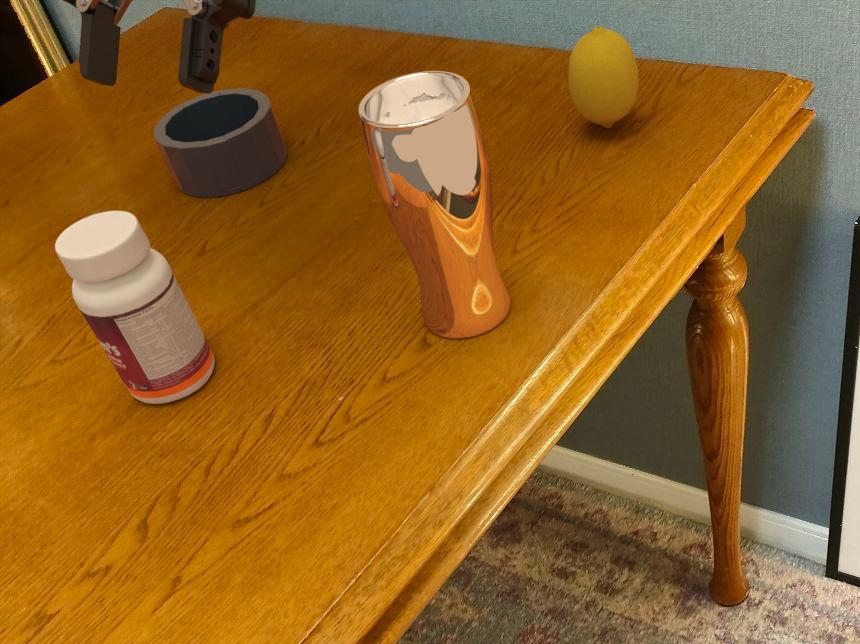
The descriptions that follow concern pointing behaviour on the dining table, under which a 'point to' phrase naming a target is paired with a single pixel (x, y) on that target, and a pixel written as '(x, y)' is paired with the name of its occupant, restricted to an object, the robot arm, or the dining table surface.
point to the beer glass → (438, 196)
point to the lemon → (603, 77)
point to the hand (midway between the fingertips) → (145, 86)
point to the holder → (221, 142)
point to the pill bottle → (135, 307)
